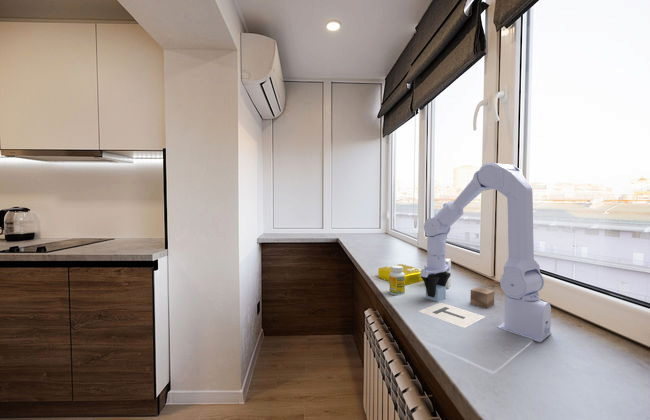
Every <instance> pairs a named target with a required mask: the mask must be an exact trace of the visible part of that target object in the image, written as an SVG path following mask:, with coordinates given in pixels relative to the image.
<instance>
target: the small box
mask: <svg viewBox="0 0 650 420" xmlns="http://www.w3.org/2000/svg"><path fill="white" fill-rule="evenodd" d="M445 264H447V265H450V271H446V272H448V273H451V274H452V259H451V258H448V257H447V258H446V262H445ZM451 282H452V275H451V276H450V277H449V279H448V281H447V283H446V286H445V287H446V290H449V288H450V287H451V285H452V283H451Z"/></svg>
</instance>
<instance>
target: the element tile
mask: <svg viewBox="0 0 650 420" xmlns="http://www.w3.org/2000/svg"><path fill="white" fill-rule="evenodd" d="M392 266H402V267H403V271H402V272H403V273H404V274H405V286H410V285H413V284H418V283H422V282H424V281H423V279H422V278H421V270H423V269H424V268H423V269H421V268H418V267H415V266H414V267H413V266H410V265H406V264H401V263H400V264H392V265H389V266H382V267H379V268H378V269H377V270H378V274H377V275H378V277H377V278H378V279H380V280H384V281H387V282H389V274H390V272H392V270H391V267H392Z"/></svg>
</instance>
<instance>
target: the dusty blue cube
mask: <svg viewBox="0 0 650 420" xmlns="http://www.w3.org/2000/svg"><path fill="white" fill-rule="evenodd" d="M446 290H447V289H446V287H444V286H440V285H437V286H436V293H435V297H430V296H428V294H427V290H426V289H425V299H427V300H430V301H433V302H437V303H440V302H442V301H444V300H446V296H447V295H446V293H447V291H446Z"/></svg>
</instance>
